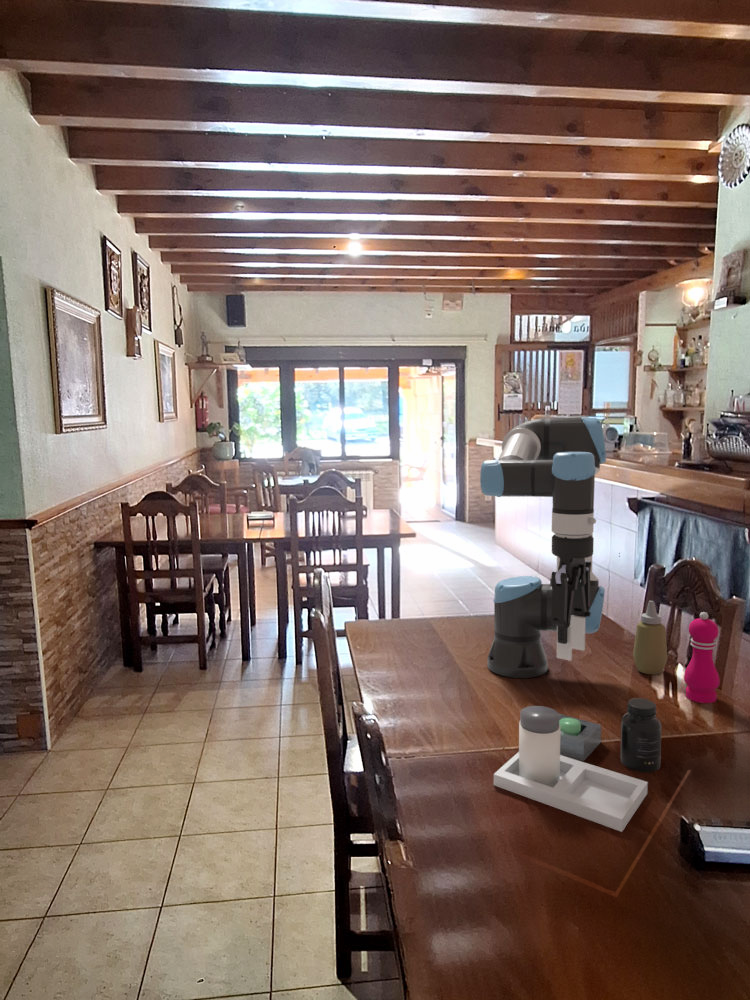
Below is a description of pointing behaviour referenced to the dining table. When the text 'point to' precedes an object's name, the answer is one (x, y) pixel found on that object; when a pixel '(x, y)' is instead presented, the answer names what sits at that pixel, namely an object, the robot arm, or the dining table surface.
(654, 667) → the squeeze bottle
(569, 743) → the grey button base
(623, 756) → the supplement bottle
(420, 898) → the dining table surface
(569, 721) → the button
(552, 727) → the lidded jar
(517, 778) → the tray
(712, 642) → the pepper mill
